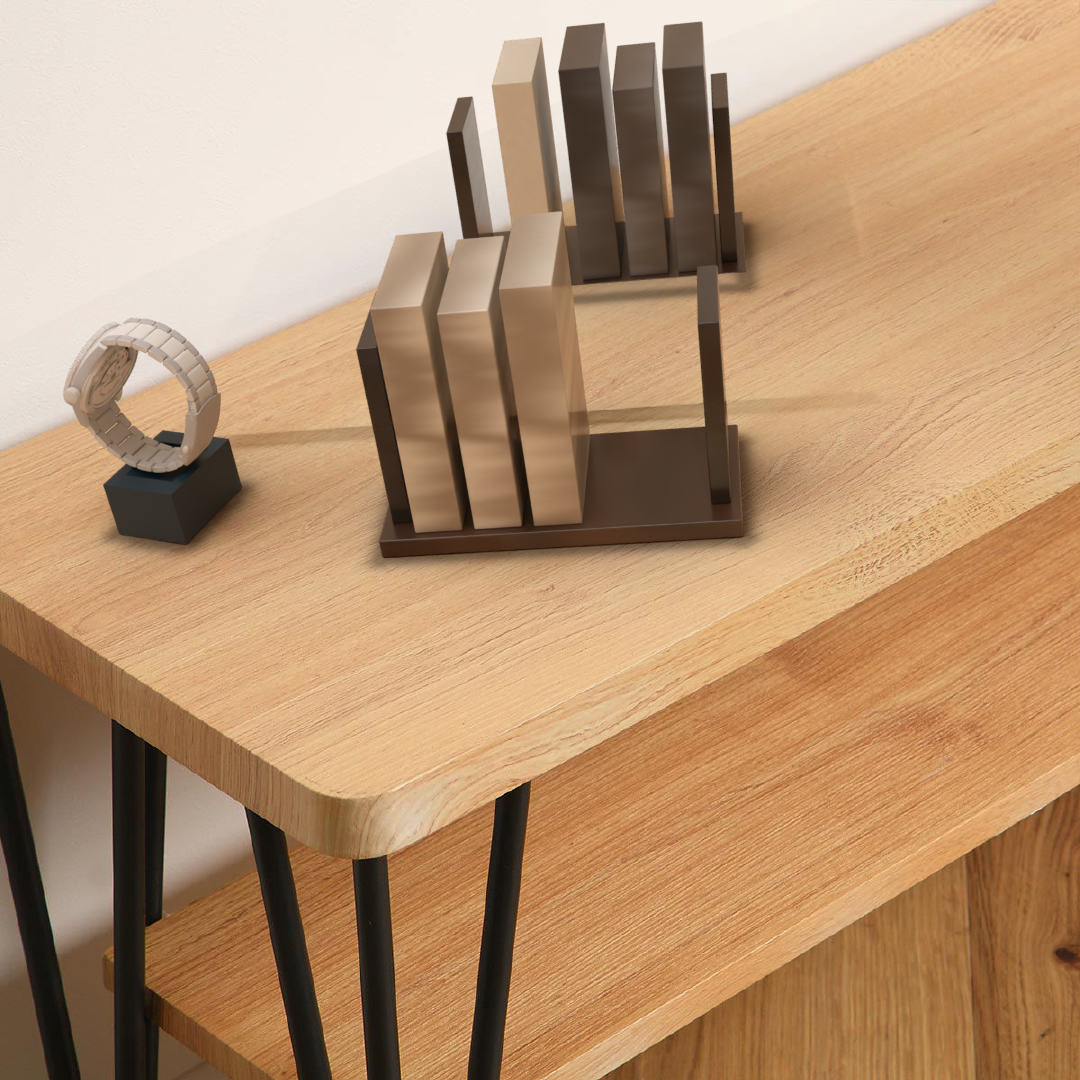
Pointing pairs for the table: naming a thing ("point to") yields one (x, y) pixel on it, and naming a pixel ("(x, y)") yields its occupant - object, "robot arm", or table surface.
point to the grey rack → (629, 161)
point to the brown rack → (525, 409)
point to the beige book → (526, 129)
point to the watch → (171, 457)
